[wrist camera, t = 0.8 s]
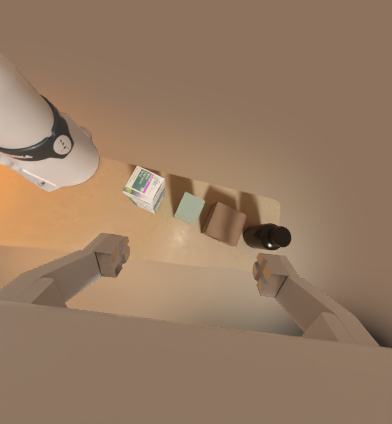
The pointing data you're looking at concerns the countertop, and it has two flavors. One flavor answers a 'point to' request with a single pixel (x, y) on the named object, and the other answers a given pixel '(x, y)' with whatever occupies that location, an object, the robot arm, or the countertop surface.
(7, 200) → the countertop surface
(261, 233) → the supplement bottle
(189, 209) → the sage block
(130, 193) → the syrup box
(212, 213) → the block
